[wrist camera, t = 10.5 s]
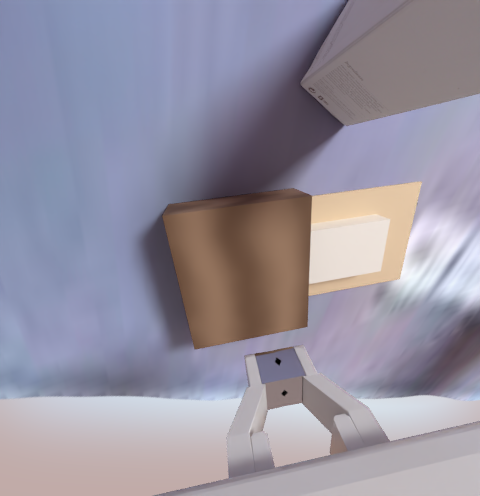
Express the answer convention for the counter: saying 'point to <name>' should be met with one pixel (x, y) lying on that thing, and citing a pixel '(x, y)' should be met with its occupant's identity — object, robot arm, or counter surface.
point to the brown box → (242, 264)
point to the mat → (362, 204)
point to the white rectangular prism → (347, 247)
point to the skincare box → (396, 58)
